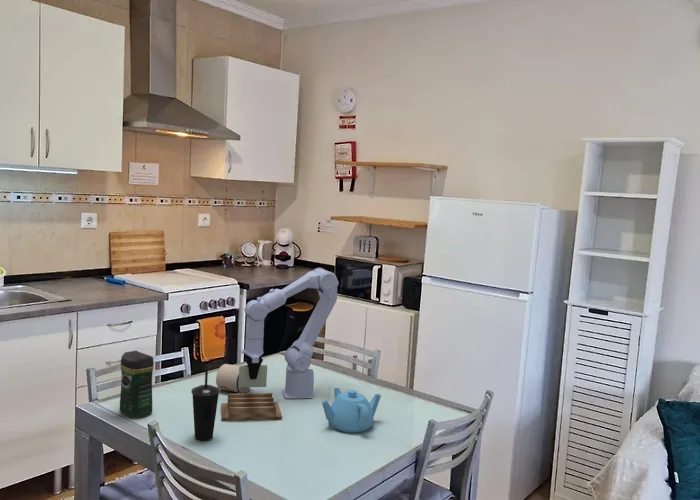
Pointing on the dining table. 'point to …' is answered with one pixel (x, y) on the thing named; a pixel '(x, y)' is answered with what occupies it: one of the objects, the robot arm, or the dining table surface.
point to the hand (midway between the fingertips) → (252, 377)
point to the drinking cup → (204, 409)
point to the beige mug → (229, 379)
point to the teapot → (351, 411)
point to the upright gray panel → (247, 382)
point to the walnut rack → (250, 407)
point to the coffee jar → (136, 384)
